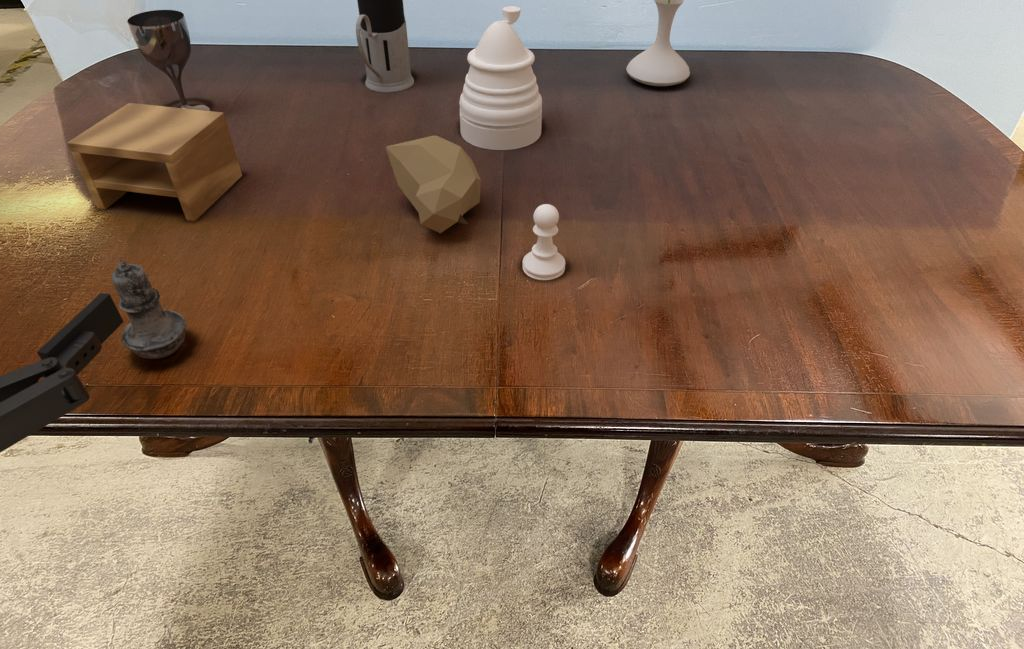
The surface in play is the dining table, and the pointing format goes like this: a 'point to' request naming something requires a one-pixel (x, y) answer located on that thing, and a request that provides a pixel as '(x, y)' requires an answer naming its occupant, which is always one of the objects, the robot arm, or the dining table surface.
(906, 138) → the dining table surface
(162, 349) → the grey chess piece
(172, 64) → the wine glass
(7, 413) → the robot arm
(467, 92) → the honey pot
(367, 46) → the glass holder
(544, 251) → the chess pawn
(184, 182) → the shelf
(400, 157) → the low-poly potato
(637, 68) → the flower in vase
